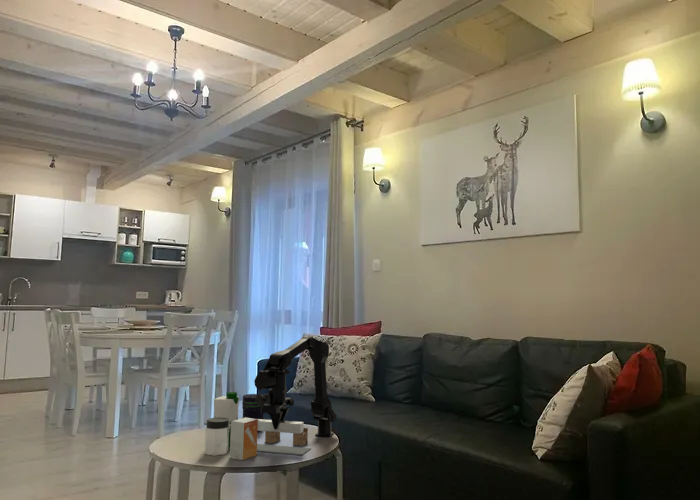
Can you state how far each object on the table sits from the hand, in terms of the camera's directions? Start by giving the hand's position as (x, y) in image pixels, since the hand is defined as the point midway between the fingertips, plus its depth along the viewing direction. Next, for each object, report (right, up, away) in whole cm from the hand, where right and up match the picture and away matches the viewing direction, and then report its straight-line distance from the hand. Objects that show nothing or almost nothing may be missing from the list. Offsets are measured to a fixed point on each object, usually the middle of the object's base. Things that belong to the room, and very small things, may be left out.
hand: (277, 428), depth 202 cm
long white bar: (0, -1, 0) cm, 1 cm away
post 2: (+8, -9, +9) cm, 15 cm away
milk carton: (-22, -9, +7) cm, 24 cm away
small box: (-11, -7, -10) cm, 17 cm away
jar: (-22, -8, -5) cm, 24 cm away
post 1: (-4, -9, +12) cm, 16 cm away
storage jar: (-15, -12, +31) cm, 36 cm away
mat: (0, -8, -1) cm, 8 cm away
